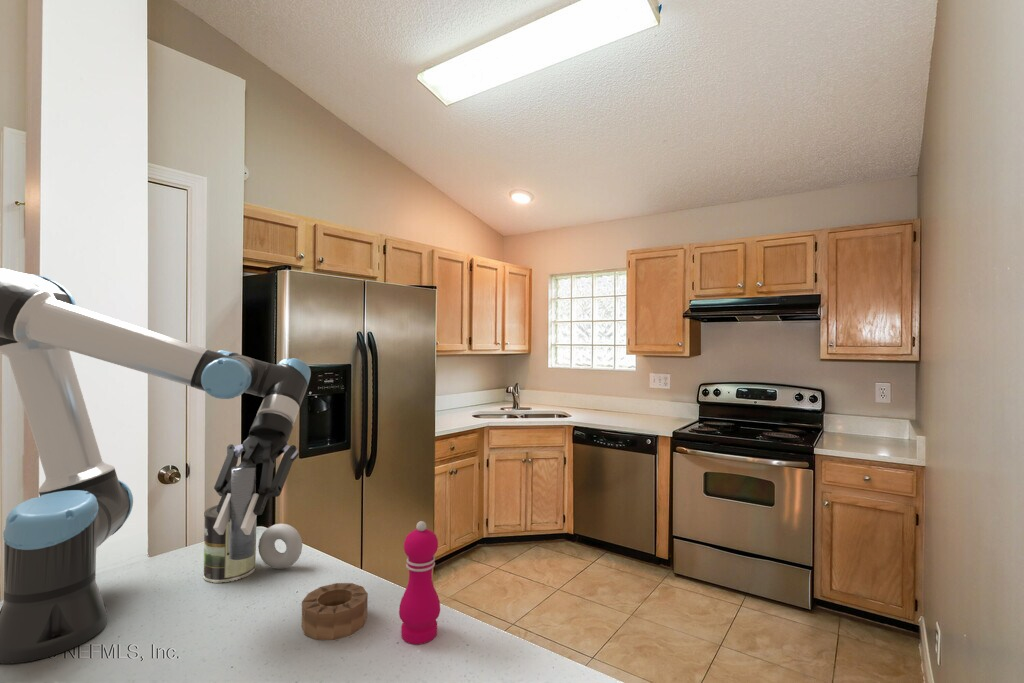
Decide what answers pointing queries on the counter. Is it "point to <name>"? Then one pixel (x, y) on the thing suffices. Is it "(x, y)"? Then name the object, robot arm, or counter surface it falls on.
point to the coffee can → (222, 553)
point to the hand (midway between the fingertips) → (231, 531)
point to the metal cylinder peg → (241, 511)
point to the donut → (269, 550)
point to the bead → (334, 611)
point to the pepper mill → (420, 588)
